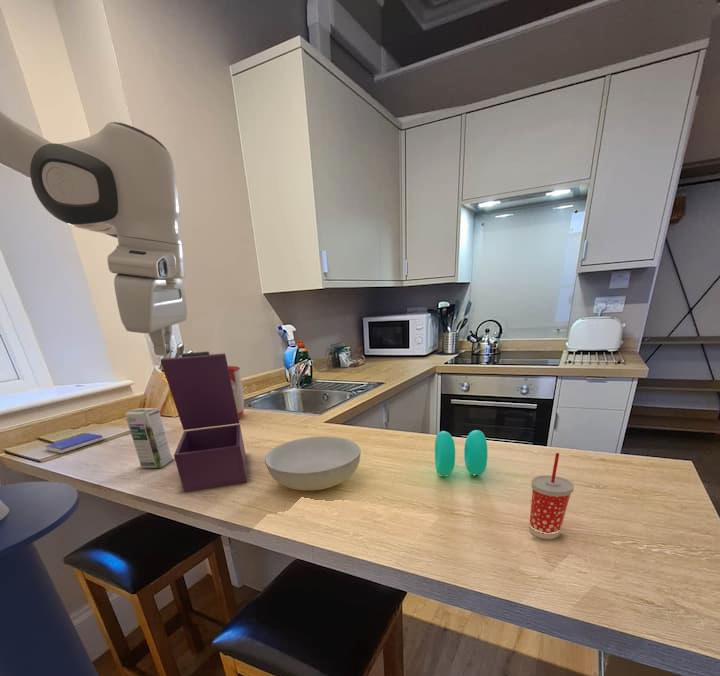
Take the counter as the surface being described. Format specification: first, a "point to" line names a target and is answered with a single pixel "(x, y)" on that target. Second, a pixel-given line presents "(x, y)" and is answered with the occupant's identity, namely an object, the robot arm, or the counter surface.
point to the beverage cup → (549, 503)
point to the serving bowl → (313, 462)
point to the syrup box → (149, 437)
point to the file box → (211, 458)
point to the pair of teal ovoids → (472, 453)
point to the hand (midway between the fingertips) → (163, 354)
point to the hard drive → (74, 443)
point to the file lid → (201, 389)
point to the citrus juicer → (237, 388)
